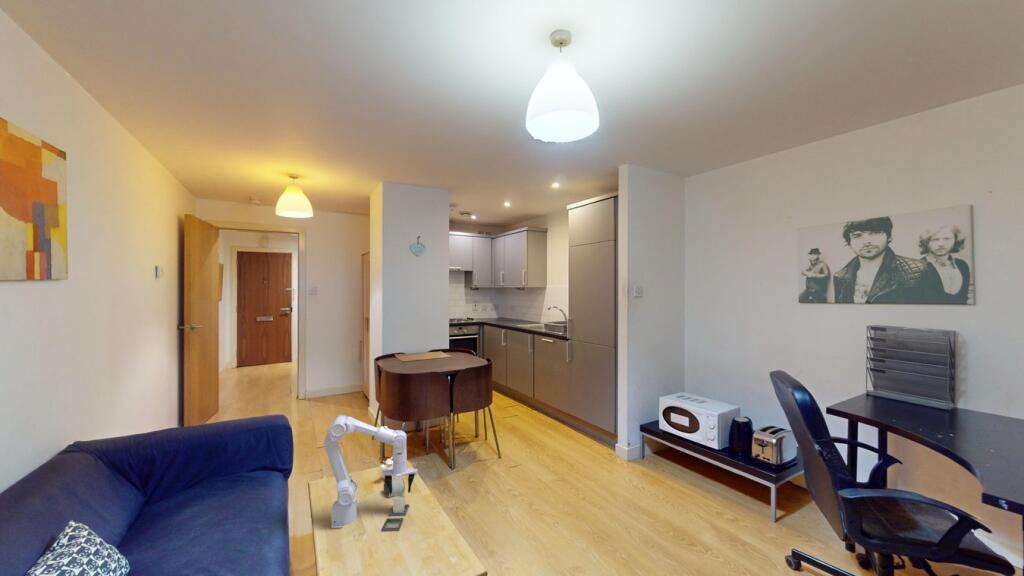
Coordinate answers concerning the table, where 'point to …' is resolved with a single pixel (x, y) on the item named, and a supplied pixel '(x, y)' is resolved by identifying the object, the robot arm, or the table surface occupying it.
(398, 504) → the plug
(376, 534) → the table surface
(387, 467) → the blocky character figurine
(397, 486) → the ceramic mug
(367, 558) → the table surface
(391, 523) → the panel
